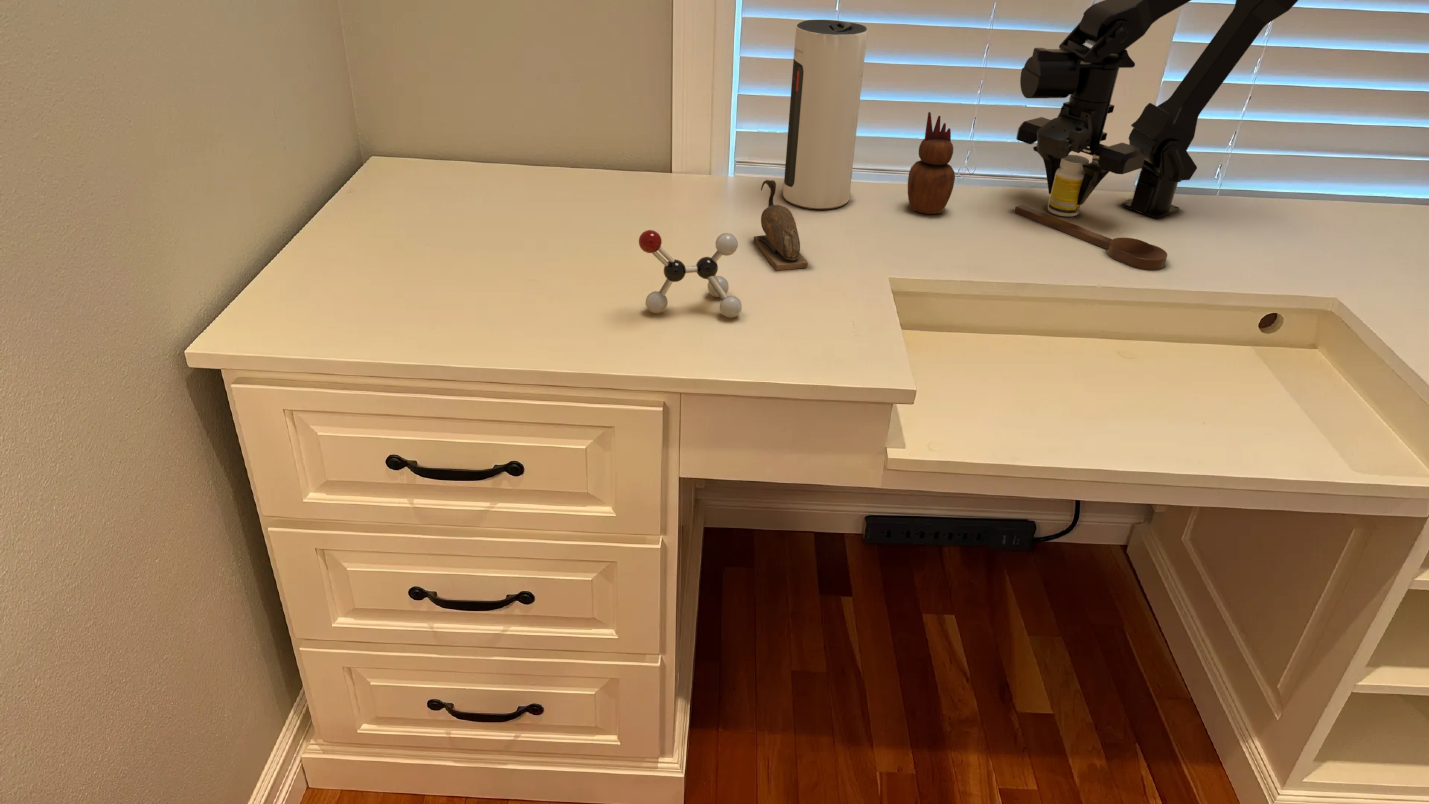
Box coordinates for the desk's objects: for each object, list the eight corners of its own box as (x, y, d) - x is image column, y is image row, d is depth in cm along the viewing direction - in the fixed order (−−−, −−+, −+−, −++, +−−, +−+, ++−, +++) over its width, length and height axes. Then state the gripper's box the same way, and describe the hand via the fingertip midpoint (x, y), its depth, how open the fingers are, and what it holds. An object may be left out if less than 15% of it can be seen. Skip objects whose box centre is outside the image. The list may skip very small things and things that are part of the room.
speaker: (785, 183, 159) (799, 12, 144) (850, 188, 158) (870, 17, 143) (780, 207, 150) (793, 28, 136) (848, 213, 149) (869, 33, 135)
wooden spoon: (1005, 215, 151) (1007, 205, 150) (1029, 207, 154) (1031, 198, 153) (1149, 273, 135) (1152, 263, 134) (1172, 263, 138) (1176, 253, 137)
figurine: (743, 229, 142) (746, 171, 137) (772, 227, 143) (777, 169, 138) (776, 271, 131) (781, 209, 126) (808, 267, 132) (814, 206, 127)
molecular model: (744, 320, 119) (749, 238, 113) (646, 330, 116) (646, 246, 110) (724, 290, 125) (728, 211, 120) (632, 299, 123) (631, 218, 117)
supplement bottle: (1080, 218, 150) (1093, 165, 146) (1048, 215, 151) (1060, 162, 147) (1076, 207, 154) (1089, 155, 150) (1045, 204, 155) (1057, 152, 151)
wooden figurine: (900, 212, 150) (914, 114, 142) (908, 200, 154) (923, 104, 146) (944, 220, 148) (962, 121, 140) (951, 207, 152) (969, 110, 144)
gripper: (1004, 89, 145) (984, 190, 154) (1114, 123, 133) (1086, 230, 141) (1050, 79, 151) (1028, 177, 159) (1160, 110, 139) (1130, 214, 147)
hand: (1065, 199), depth 152 cm, fingers closed on supplement bottle, 5 cm apart
